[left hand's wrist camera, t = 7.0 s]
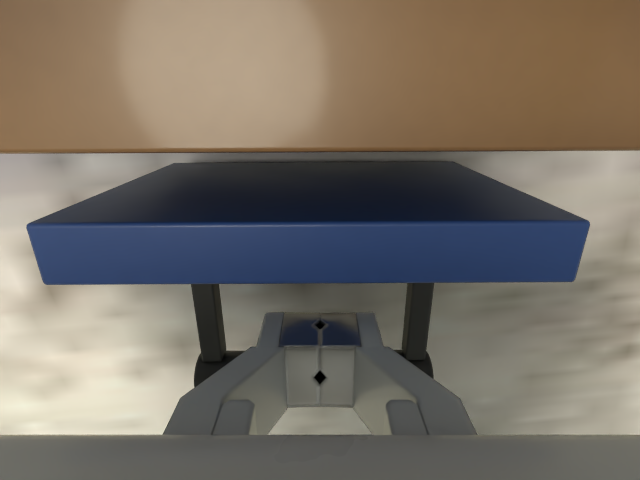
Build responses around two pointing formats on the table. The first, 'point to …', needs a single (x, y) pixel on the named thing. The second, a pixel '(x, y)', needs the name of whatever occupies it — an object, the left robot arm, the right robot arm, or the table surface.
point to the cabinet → (318, 76)
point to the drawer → (309, 236)
